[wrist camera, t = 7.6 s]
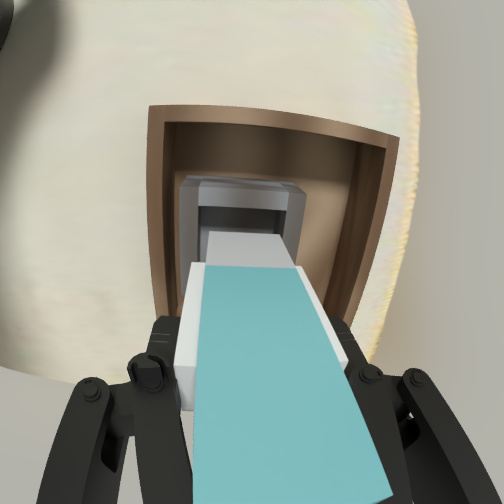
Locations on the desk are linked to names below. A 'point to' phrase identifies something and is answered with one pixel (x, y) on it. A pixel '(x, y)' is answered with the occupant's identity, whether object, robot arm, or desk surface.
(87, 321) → the desk surface
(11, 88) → the desk surface
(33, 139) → the desk surface
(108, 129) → the desk surface
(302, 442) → the connector plug
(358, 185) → the connector box
